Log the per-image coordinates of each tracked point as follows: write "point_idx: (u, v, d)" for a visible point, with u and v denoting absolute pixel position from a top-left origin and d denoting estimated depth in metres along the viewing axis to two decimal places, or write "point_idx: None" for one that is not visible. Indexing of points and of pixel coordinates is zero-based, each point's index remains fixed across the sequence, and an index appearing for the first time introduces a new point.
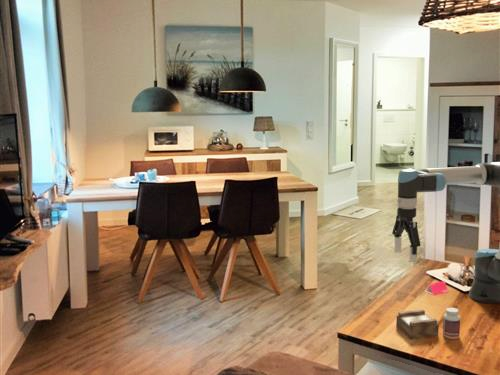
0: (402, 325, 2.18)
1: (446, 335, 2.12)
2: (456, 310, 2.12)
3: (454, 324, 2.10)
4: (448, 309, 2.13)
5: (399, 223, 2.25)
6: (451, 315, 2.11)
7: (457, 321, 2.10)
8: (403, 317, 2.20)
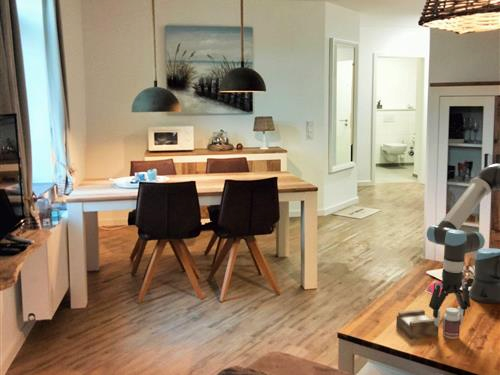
0: (402, 325, 2.18)
1: (446, 335, 2.12)
2: (456, 310, 2.12)
3: (454, 324, 2.10)
4: (448, 309, 2.13)
5: None
6: (451, 315, 2.11)
7: (457, 321, 2.10)
8: (403, 317, 2.20)
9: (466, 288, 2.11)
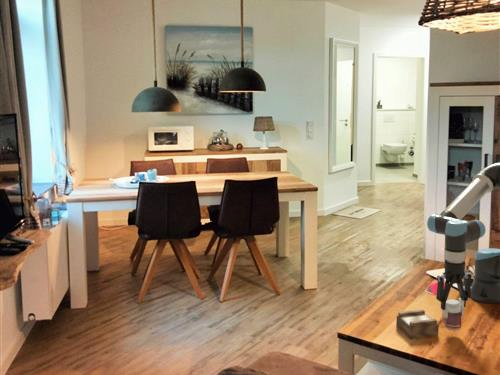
0: (402, 325, 2.18)
1: (448, 327, 2.12)
2: (457, 302, 2.11)
3: (455, 316, 2.10)
4: (449, 301, 2.12)
5: None
6: (452, 307, 2.10)
7: (458, 313, 2.10)
8: (403, 317, 2.20)
9: (468, 278, 2.10)
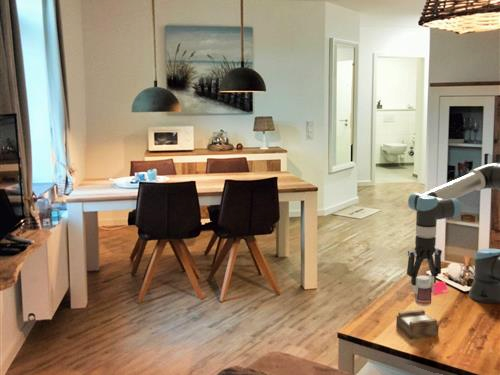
0: (402, 325, 2.18)
1: (418, 303, 2.14)
2: (427, 277, 2.13)
3: (426, 291, 2.12)
4: (419, 277, 2.14)
5: None
6: (422, 282, 2.12)
7: (428, 288, 2.12)
8: (403, 317, 2.20)
9: (439, 254, 2.12)
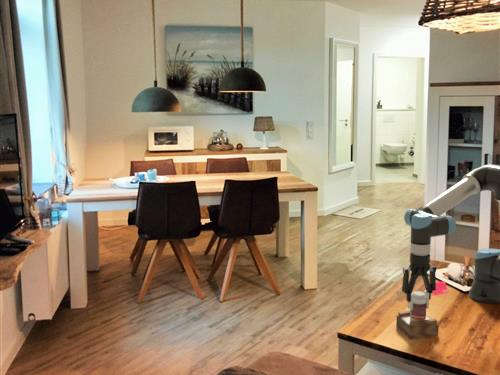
0: (402, 325, 2.18)
1: (413, 318, 2.16)
2: (422, 293, 2.16)
3: (420, 307, 2.14)
4: (414, 293, 2.17)
5: None
6: (417, 298, 2.14)
7: (423, 304, 2.14)
8: (403, 317, 2.20)
9: (433, 271, 2.14)
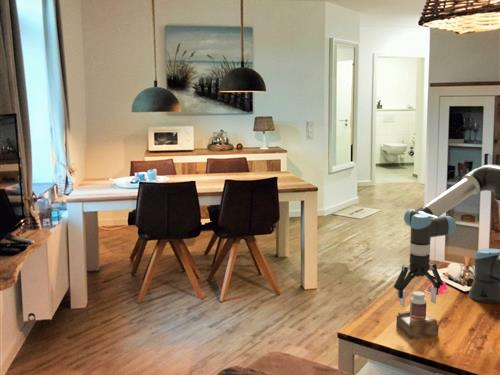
0: (402, 325, 2.18)
1: (413, 318, 2.16)
2: (422, 293, 2.16)
3: (420, 307, 2.14)
4: (415, 293, 2.17)
5: None
6: (417, 298, 2.14)
7: (423, 304, 2.14)
8: (403, 317, 2.20)
9: (434, 269, 2.14)
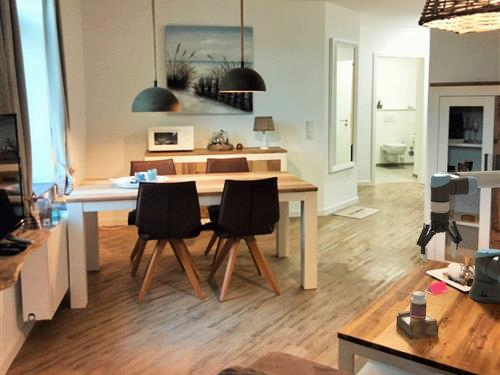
0: (402, 325, 2.18)
1: (413, 318, 2.16)
2: (422, 293, 2.16)
3: (420, 307, 2.14)
4: (415, 293, 2.17)
5: None
6: (417, 298, 2.14)
7: (423, 304, 2.14)
8: (403, 317, 2.20)
9: (454, 225, 2.27)
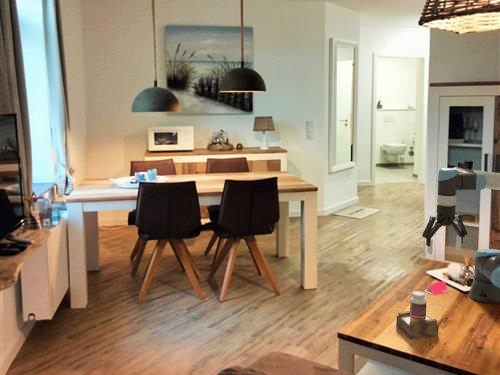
0: (402, 325, 2.18)
1: (413, 318, 2.16)
2: (422, 293, 2.16)
3: (420, 307, 2.14)
4: (415, 293, 2.17)
5: None
6: (417, 298, 2.14)
7: (423, 304, 2.14)
8: (403, 317, 2.20)
9: (459, 219, 2.32)
